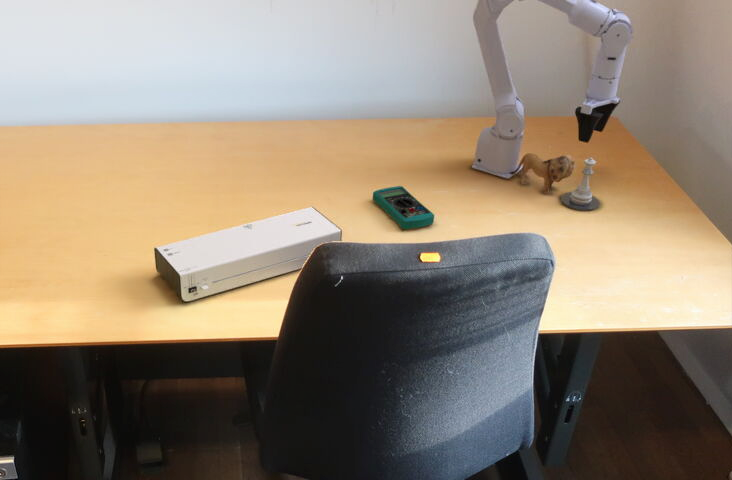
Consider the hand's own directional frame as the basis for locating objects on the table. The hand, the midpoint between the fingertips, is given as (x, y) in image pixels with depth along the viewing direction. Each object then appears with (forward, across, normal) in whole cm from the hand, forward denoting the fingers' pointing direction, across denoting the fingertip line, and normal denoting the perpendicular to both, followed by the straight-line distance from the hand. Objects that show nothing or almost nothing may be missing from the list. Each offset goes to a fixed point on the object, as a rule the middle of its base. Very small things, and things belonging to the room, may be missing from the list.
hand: (590, 135), depth 190 cm
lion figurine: (+10, -10, +5) cm, 15 cm away
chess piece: (+10, -12, -5) cm, 16 cm away
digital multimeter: (+10, -41, +22) cm, 48 cm away
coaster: (+10, -12, -5) cm, 16 cm away
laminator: (+10, -78, +32) cm, 85 cm away
